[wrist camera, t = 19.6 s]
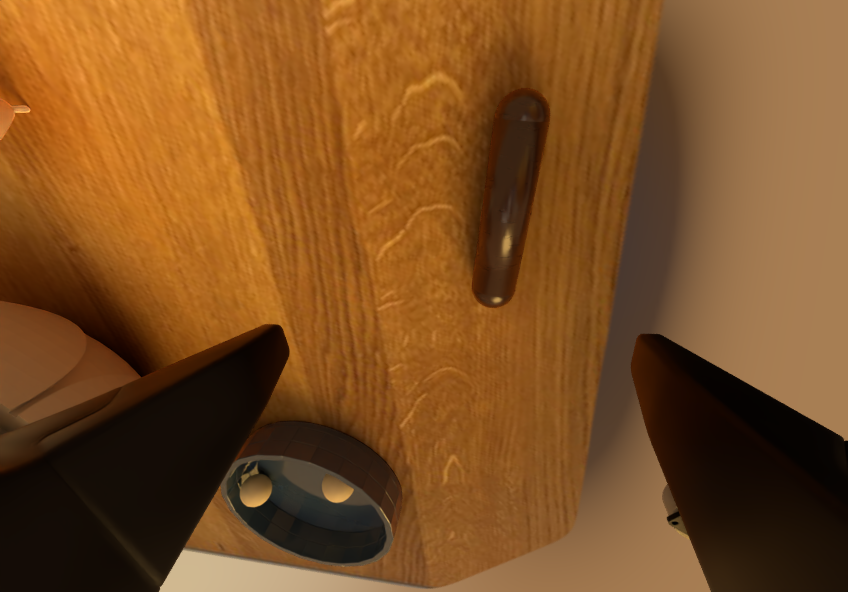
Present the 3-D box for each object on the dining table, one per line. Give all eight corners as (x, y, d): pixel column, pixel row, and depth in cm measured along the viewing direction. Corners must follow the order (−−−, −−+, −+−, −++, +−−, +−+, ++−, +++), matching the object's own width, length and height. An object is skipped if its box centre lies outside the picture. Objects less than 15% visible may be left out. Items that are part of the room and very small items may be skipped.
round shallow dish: (434, 480, 31) (426, 521, 28) (361, 547, 40) (349, 584, 36) (269, 391, 30) (243, 424, 27) (229, 480, 38) (205, 513, 35)
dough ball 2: (364, 491, 31) (345, 509, 29) (339, 492, 32) (319, 509, 30) (357, 459, 32) (337, 474, 29) (333, 461, 33) (311, 476, 30)
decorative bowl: (253, 291, 25) (-16, 498, 12) (250, 508, 40) (130, 703, 27) (-134, 159, 26) (-766, 218, 13) (6, 420, 41) (-220, 566, 28)
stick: (471, 292, 22) (511, 297, 21) (467, 312, 20) (511, 319, 19) (498, 87, 16) (552, 90, 16) (498, 85, 14) (560, 88, 14)
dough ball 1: (277, 491, 33) (256, 469, 33) (251, 517, 32) (230, 495, 32) (279, 485, 36) (260, 465, 36) (255, 509, 35) (235, 488, 35)
